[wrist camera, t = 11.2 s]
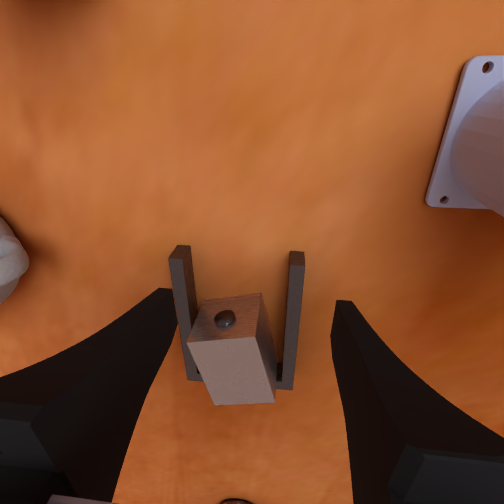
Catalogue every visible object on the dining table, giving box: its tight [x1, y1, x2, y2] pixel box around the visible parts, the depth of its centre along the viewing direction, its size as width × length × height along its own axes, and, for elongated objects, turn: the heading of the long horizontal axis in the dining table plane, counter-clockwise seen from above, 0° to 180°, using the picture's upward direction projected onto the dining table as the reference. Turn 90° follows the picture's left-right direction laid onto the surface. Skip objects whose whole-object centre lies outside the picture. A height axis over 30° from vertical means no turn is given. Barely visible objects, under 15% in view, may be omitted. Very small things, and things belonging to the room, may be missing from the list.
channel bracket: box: [168, 245, 305, 390], centre depth 25 cm, size 10×13×2 cm
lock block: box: [187, 293, 277, 405], centre depth 24 cm, size 5×7×5 cm
